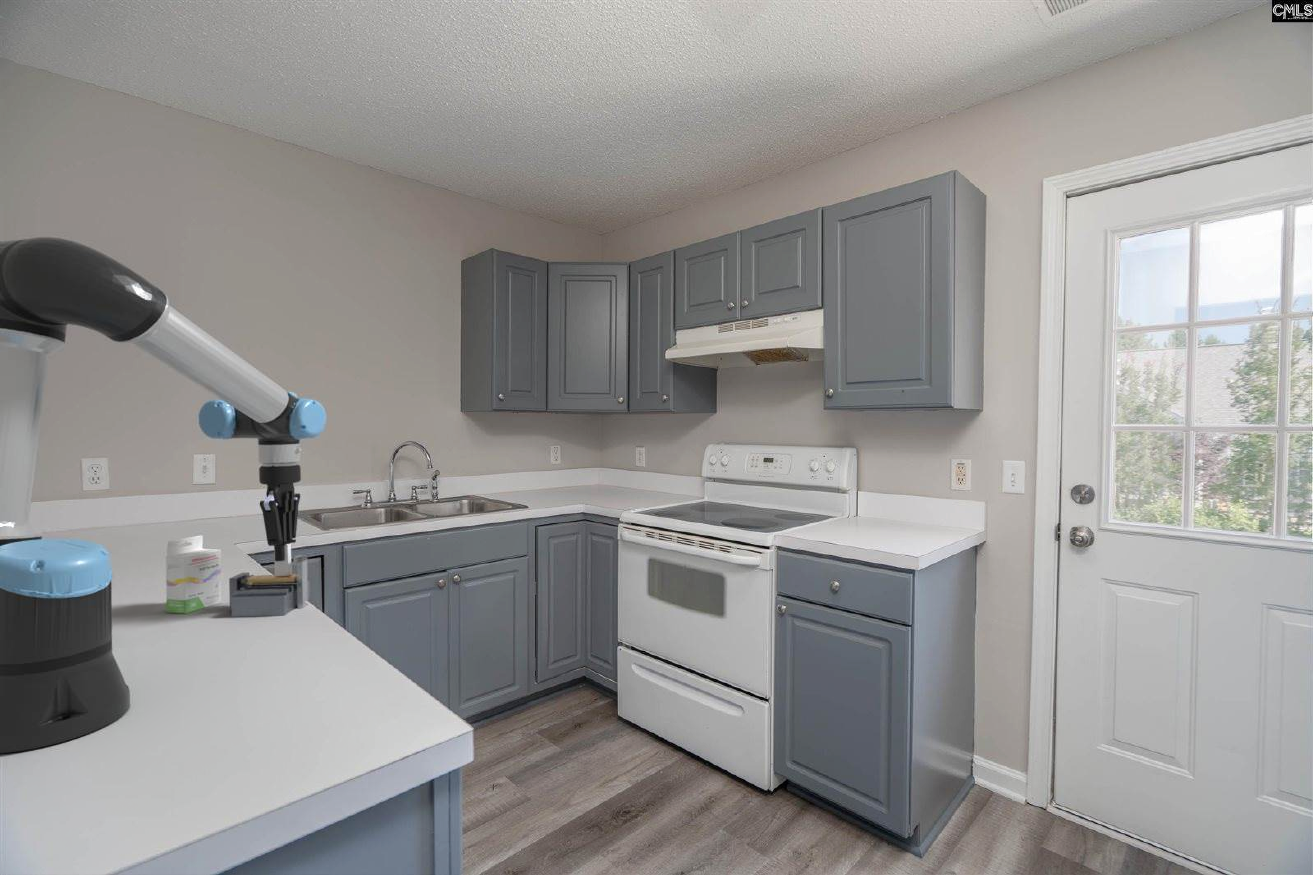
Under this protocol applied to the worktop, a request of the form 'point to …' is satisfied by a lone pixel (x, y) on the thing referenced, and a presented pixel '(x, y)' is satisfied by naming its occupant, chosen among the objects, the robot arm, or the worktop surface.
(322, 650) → the worktop surface
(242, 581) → the strap
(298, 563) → the heatsink
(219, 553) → the ink box
